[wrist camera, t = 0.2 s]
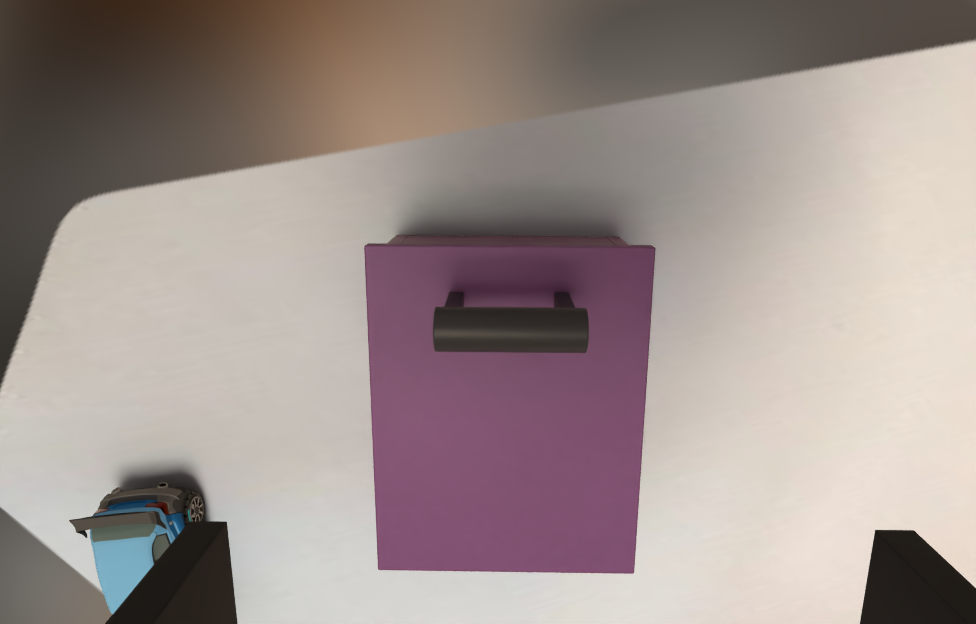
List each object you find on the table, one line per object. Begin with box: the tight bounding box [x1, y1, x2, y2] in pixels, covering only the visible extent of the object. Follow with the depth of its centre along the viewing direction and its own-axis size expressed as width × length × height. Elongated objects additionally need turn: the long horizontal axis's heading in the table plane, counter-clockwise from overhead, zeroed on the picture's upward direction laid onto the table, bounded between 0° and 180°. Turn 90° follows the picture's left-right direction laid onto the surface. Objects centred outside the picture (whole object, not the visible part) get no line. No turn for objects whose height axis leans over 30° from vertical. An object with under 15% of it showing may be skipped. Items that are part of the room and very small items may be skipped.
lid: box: [364, 244, 655, 574], centre depth 30 cm, size 17×14×7 cm
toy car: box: [69, 482, 204, 614], centre depth 44 cm, size 6×12×6 cm, turn 7°
